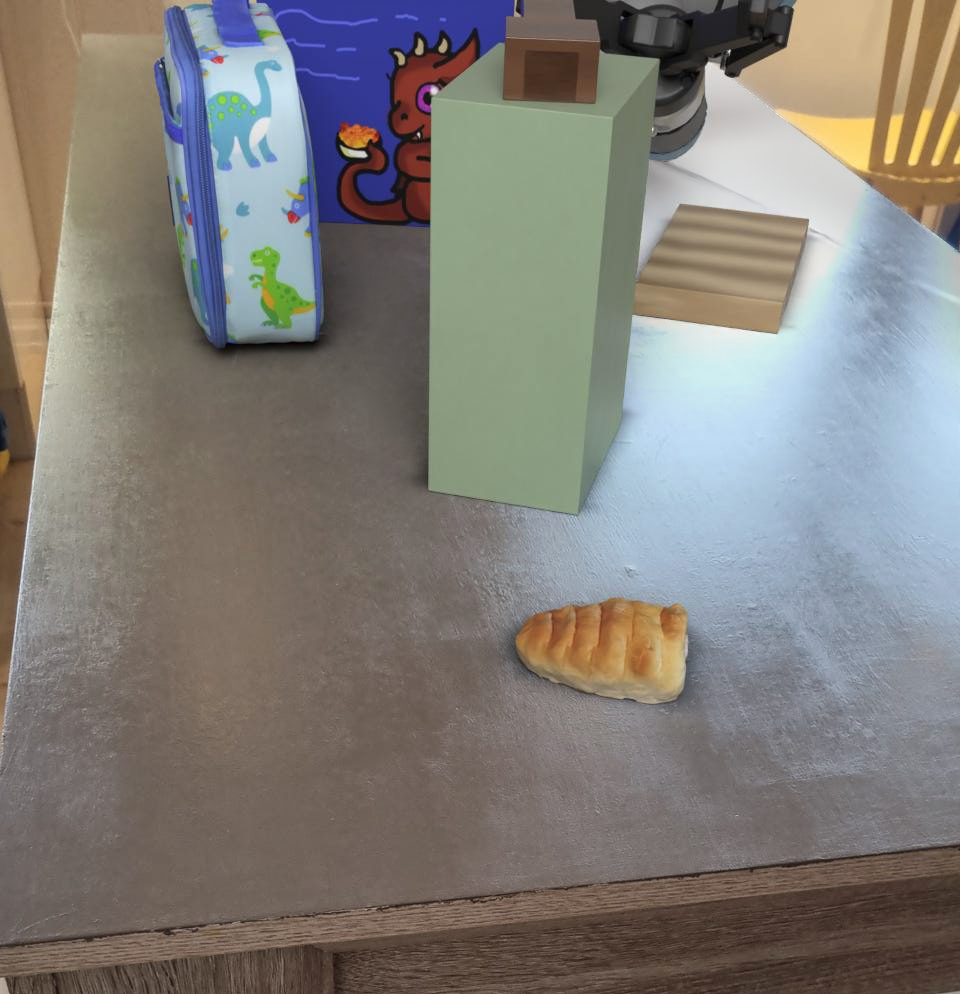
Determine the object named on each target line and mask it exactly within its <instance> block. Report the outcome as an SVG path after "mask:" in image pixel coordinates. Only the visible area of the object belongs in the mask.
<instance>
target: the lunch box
mask: <svg viewBox="0 0 960 994" xmlns="http://www.w3.org/2000/svg"><path fill="white" fill-rule="evenodd" d="M163 19H164V27H163V55H164V56H162V57H158V58H157V60H156V62H155V63H154V65H153V72H154V73H153V74H154V81H155V86H156V90H157V93H158V96H159V104H160V107H161V108H160V109H161V112H160V113H161V122H162V132H163V142H164V150H165V157H166V166H167V173H168V174H167V176H166V180H167V187H168V188H167V189H168V196H169V204H170V210H171V211H170V212H171V217H172V218H171V219H172V226H173V227H174V228H175V235H176V240H177V247H178V251H179V256H180V262H181V267H182V268H181V269H182V272H183V276H184V281H185V286H186V290H187V295H188V298H189V301H190V306H191V309H192V312H193V315H194V317H195V319H196V321H197V323H198V325H199V326H200V327H201V328H202V330H203V332H204V335H205V337H206V338H207V340H208V342H209V343H211V344H213V346H214V347H216V348H218V349H224V348H225V347H226V344H227V343H230V344H235V345H236V344H237V345H244V344H256V345H257V344H266V343H267V344H268V343H282V344H283V343H292V342H296V343H304V342H310V343H311V342H312V343H314V342H315V341H317V340H319V339H320V330H321V328H322V326H323V323H324V320H325V319H324V317H325V302H324V283H323V264H322V248H321V245H322V244H321V233H320V222H319V219H318V204H317V190H316V180H315V170H314V162H313V154H312V147H311V139H310V133H309V127H308V121H307V115H306V109H305V106H304V102H303V99H302V95H301V92H300V89H299V86H298V83H297V77H296V68H295V61H294V58H293V55H292V53H291V51H290V49H289V48H288V46H287V44H286V41H285V40H284V38H283V36H282V34H281V32H280V29H279V28H278V25H277V22H276V19H275V17H274V14H273V10H272V8H270V7H268V5H267V4H265V3H256V2H251V3H250V0H211V3H193V4H191V5H190V4H189V5H187V6H185V7H183V9H182V8H181V6H179V5H175V4H174V5H173V6H172V7H168V8H167V10H164V11H163Z"/></svg>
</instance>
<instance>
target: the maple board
mask: <svg viewBox="0 0 960 994" xmlns="http://www.w3.org/2000/svg"><path fill="white" fill-rule="evenodd" d="M809 224H810V218H804V217H797V216H788V215H779V214H771V213H762V212H755V211H746V210H737V209H731V208H722V207H713V206H706V205H705V206H704V205H696V204H689V203H682V202H681V203H679V204H678V206H677V208H676V209H675V211H674V213H673V215H672V216H671V219H670V221H669V222H668V224H667V226H666V228H665V230H664V231H663V233H662V235H661V237H660V239H659V240H658V243H657V244H656V246H655V248H654V249H653V251H652V253H651V255H650V257H649V258H648V261H647V262H646V264H645V266H644V268H643V269H642V271H641V273H640V275H639V277H637V279H636V287H635V296H634V305H633V315H638V316H644V317H652V318H658V319H659V318H660V319H668V320H674V321H681V322H689V323H695V324H703V325H710V326H717V327H725V328H732V329H739V330H747V331H748V330H749V331H753V332H762V333H768V334H769V333H770V334H778V333H779V331H780V327H781V324H782V321H783V318H784V315H785V311H786V309H787V304H788V301H789V299H790V295H791V291H792V290H793V289H792V288H793V285H794V282H795V278H796V277H797V273H798V269H799V266H800V263H801V259H802V256H803V254H804V253H803V252H804V250H805V246H806V242H807V236H808V229H809Z"/></svg>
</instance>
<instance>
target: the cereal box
mask: <svg viewBox="0 0 960 994" xmlns="http://www.w3.org/2000/svg"><path fill="white" fill-rule="evenodd" d="M515 2H516V0H256V2H255V3H265V4H267V5H268V7H270V8H272V10H273V14H274V17H275V19H276V22H277V25H278V28H279V29H280V32H281V34H282V36H283V38H284V40H285V41H286V44H287V46H288V48H289V49H290V51H291V53H292V55H293V58H294V61H295V68H296V77H297V83H298V86H299V89H300V92H301V95H302V99H303V102H304V106H305V109H306V115H307V121H308V127H309V133H310V139H311V147H312V154H313V162H314V170H315V180H316V190H317V204H318V219H319V223H342V224H343V223H344V224H363V225H364V224H365V225H382V226H383V225H386V226H403V227H404V226H407V227H428V228H430V206H431V98H432V97H433V96H434V95H436V94H437V93H438V92H439V91H441V90H442V89H443V88H444V87H445V86H447V85H448V84H449V83H450V82H452V81H453V80H454V79H455V78H456V77H458V76H459V75H460V74H461V73H463V72H464V71H465V70H466V69H467V68H469V67H470V66H471V65H472V64H474V63H475V62H476V61H477V60H478V59H480V58H481V57H482V56H483V55H485V54H486V53H487V52H488V51H489V50H491V49H492V48H493V47H494V46H496V45H497V44H498V43H505V23H506V17H507V16H512V17H515V8H516V5H515V4H516V3H515Z"/></svg>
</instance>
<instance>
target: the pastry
mask: <svg viewBox="0 0 960 994" xmlns="http://www.w3.org/2000/svg"><path fill="white" fill-rule="evenodd" d="M688 628H689V615H688V611H687V610H686V608H685V607H684V606H683V605H681V604H680V603H678V602H677V603H674V604H672V605H671V606H664V605H661V604H659V603H649V602H644V601H642V600H631V599H627V598H626V597H623V596H622V597H621V596H620V597H610V598H609V599H606V600H605V601H602V602H598V603H591V604H585V605H581V606H580V605H575V604H569V605H564V606H563V607H560V608H557V609H555V608H554V609H553V608H552V609H550V610H546V611H544V612H538V613H535V614H534V615H532V616H531V617H530V618H528V619H527V620H526V621H525V622H524V623H523V625H522V627H521V629H519V632H518V634H516V637H515V640H514V644H515V651H516V654H517V655H518V657H519V660H521V662H522V663H523V665H525V667H526V668H527V669H528V670H529V671H531V672H533V673H535V674H536V675H538V677H539V678H545V679H548V680H549V681H550V682H551V683H554V684H562V685H566V686H568V687H571V688H573V689H574V690H575V691H577V692H584V693H587V694H595V695H597V696H601V697H604V698H611V699H617V700H624V699H630V700H634V701H636V702H637V703H642V704H649V705H651V704H652V705H653V704H663V703H668V702H669V703H670V702H673V701H676V700H677V699H678V697H679V695H680V694H681V693H682V692H683V690H684V687H685V681H686V675H687V664H686V659H687V657H688V654H689V634H688V630H689V629H688Z"/></svg>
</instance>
